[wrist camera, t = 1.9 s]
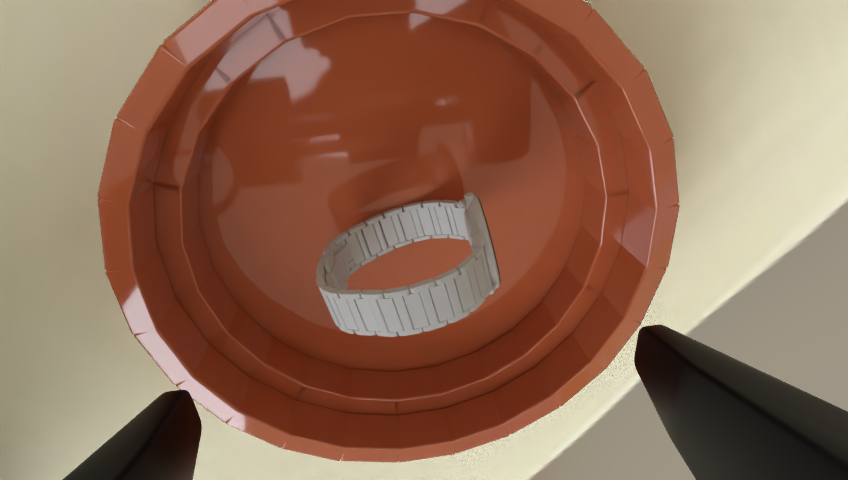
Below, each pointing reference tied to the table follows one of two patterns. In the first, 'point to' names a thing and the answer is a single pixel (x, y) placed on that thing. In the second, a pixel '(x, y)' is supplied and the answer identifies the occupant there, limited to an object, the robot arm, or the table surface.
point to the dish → (381, 191)
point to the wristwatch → (415, 307)
